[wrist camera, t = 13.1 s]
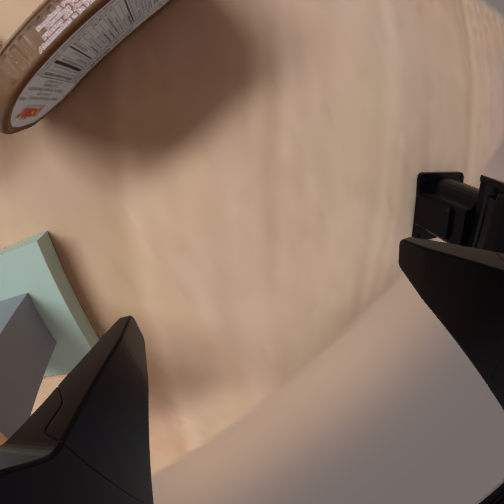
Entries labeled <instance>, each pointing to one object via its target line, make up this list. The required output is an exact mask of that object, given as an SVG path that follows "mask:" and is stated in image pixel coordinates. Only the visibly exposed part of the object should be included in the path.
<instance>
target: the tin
mask: <svg viewBox="0 0 504 504" xmlns="http://www.w3.org/2000/svg"><path fill="white" fill-rule="evenodd" d="M172 1H173V0H45V1H44V2H42V3H41V4H40V5H39V6H38V8H37V9H36V10H35V11H34V12H33V13H32V14H31V15H30V16H29V17H28V18H27V19H26V20H25V21H24V22H23V23H22V24H21V25H20V27H19V28H18V29H17V30H16V31H15V32H14V33H13V35H12V36H11V37H10V38H9V39H8V40H7V42H6V43H5V44H4V45H3V46H2V48H1V49H0V131H1V132H2V133H4V134H13V133H16V132H19V131H21V130H24V129H27V128H29V127H31V126H33V125H35V124H36V123H37V122H39V121H40V120H41V119H43V118H44V117H45V116H46V115H47V114H48V113H50V112H51V111H52V110H53V109H54V108H55V107H56V106H57V105H58V104H59V103H61V102H62V101H63V100H64V99H65V98H66V97H67V96H68V95H69V94H70V92H71V91H72V90H73V89H74V88H75V87H76V86H77V85H78V84H79V83H80V82H81V81H82V80H83V79H84V78H85V77H86V76H87V75H88V74H89V73H90V72H91V71H92V70H93V69H94V68H95V67H96V66H97V65H98V64H99V63H100V62H101V61H102V60H103V59H104V58H105V57H106V56H108V55H109V54H110V53H111V52H112V51H113V50H114V49H115V48H116V47H117V46H119V45H120V44H121V43H122V42H123V41H124V40H125V39H127V38H128V37H129V36H130V35H131V34H133V33H134V32H135V31H136V30H137V29H139V28H140V27H141V26H142V25H144V24H145V23H146V22H147V21H149V20H150V19H151V18H153V17H154V16H155V15H156V14H157V13H159V12H160V11H161V10H162V9H164V8H165V7H166V6H167V5H168V4H169V3H171V2H172Z"/></svg>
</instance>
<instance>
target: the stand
mask: <svg viewBox="0 0 504 504" xmlns="http://www.w3.org/2000/svg"><path fill="white" fill-rule="evenodd" d="M25 293H28V294H29V296H30V298H31V300H32V301H33V303H34V305H35V307H36V309H37V311H38V312H39V314H40V316H41V318H42V319H43V321H44V323H45V324H46V326H47V328H48V329H49V331H50V333H51V334H52V336H53V337H54V339H55V341H56V342H57V344H56V346H55V348H54V351H53V353H52V356H51V358H50V361H49V363H48V366H47V368H46V371H45V374H44V376H51V375H58V374H66V373H70V372H71V371H72V369H73V368H74V367H75V366H76V365H77V364H78V363H79V362H80V361H81V359H82V358H83V357H84V356H85V355H86V354H87V353H88V352H89V351H90V350H91V348H92V347H93V346H94V345H95V344H96V343H97V342H98V341H99V338H98V336H97V334H96V333H95V331H94V329H93V327H92V326H91V324H90V322H89V320H88V318H87V316H86V315H85V313H84V311H83V309H82V307H81V305H80V303H79V301H78V299H77V297H76V295H75V293H74V291H73V289H72V287H71V285H70V283H69V281H68V279H67V276H66V274H65V272H64V270H63V268H62V265H61V263H60V261H59V259H58V256H57V254H56V252H55V249H54V247H53V244H52V242H51V239H50V237H49V234H48V232H47V231H46V232H43V233H41V234H38V235H35V236H33V237H30V238H28V239H25V240H23V241H20V242H18V243H15V244H13V245H11V246H8V247H6V248H3V249H1V250H0V301H2V300H5V299H9V298H12V297H15V296H18V295H22V294H25Z"/></svg>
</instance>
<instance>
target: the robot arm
mask: <svg viewBox="0 0 504 504" xmlns="http://www.w3.org/2000/svg"><path fill="white" fill-rule="evenodd" d="M422 177H423V180H422ZM463 178H464V176H463V173H461V172H421V173H419V175H418V178H417V192H416V205H415V215H414V224H413V233H412V237H409V238H405V239H403V240H401V241H400V244H399V265H400V268H401V269H402V271H403V272H404V274H405V275H406V276H407V278H408V279H409V281H410V282H411V283H412V285H413V286H414V288H415V289H416V291H417V292H418V294H419V295H420V296H421V298H422V299H423V300H424V302H425V303H426V304H427V305H428V307H429V308H430V309H431V310H432V311H433V313H434V314H435V315H436V316H437V318H438V319H439V320H440V321H441V322H442V324H443V325H444V326H445V328H446V329H447V330H448V331H449V333H450V334H451V335H452V337H453V338H454V339H455V340H456V342H457V343H458V345H460V347H461V348H462V350H463V351H464V352H465V354H466V355H467V356H468V358H469V359H470V361H471V362H472V364H473V365H474V366H475V368H476V369H477V370H478V372H479V373H480V375H481V376H482V378H483V379H484V381H485V382H486V384H488V387H489V388H490V390H491V391H492V393H493V394H494V396H495V397H496V399H497V400H498V402H499V403H500V405H501V407H502V408H503V410H504V182H502V181H499V180H496V179H493V178H490V177H486V176H483V175H481V177H480V181H481V184H480V188H479V189H478V188H475V187H473V186H470V185H467V184H465V183H463ZM417 235H418V236H417ZM436 237H438V238H440V239H442V240H443V241H445V242H447V243H443V242H438V241H432V240H427V239H432V238H436ZM58 387H59V388H58ZM58 387H57V388H56V389H55V390H54V391H53V392H52V393H51V395H50V396H49V397H48V398H47V399H46V400H45V401H44V402H43V403H42V405H41V406H40V407H39V408H38V409H37V410H36V411H35V412H34V413H33V414H32V415H31V416H30V417H29V418H28V419H27V420H26V421H25V422H24V423H23V424H22V425H21V426H20V427H19V428H18V429H17V431H16V432H15V433H14V434H13V435H12V436H11V437H10V438H9V439H8V440H7V441H6V442H5V443H3V444H2V445H1V446H0V504H153V495H152V482H151V467H150V449H149V409H148V392H149V389H148V374H147V364H146V353H145V342H144V338H143V335H142V333H141V331H140V329H139V327H138V325H137V323H136V321H135V319H134V318H133V317H132V316H126V317H122V318H120V319H118V321H117V322H116V323H115V324H114V325H113V326H112V327H111V328H110V329H109V330H108V331H107V332H106V333H105V334H104V335H103V336H102V338H101V339H100V340H99V341H98V342H97V343H96V344H95V345H94V346H93V347H92V348H91V350H90V351H89V352H88V353H87V354H86V355H85V356H84V357H83V358H82V359H81V361H80V362H79V363H78V364H77V365H76V366H75V367H74V368H73V369H72V371H71V372H70V373H69V374H68V375H67V376H66V377H65V378H64V380H63V381H62V382H61V383H60V384H59V385H58ZM475 504H504V480H502V481H501V482H500V483H499V484H498V485H497V486H496V487H495V488H493V489H492V490H491V491H490V492H489V493H488V494H486V495H485V496H484V497H483V498H482V499H480V500H479V501H478V502H477V503H475Z"/></svg>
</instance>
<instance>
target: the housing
mask: <svg viewBox="0 0 504 504" xmlns="http://www.w3.org/2000/svg"><path fill="white" fill-rule="evenodd" d="M56 344H57V342H56V341H55V339H54V337H53V336H52V334H51V333H50V331H49V329H48V328H47V326H46V324H45V323H44V321H43V319H42V318H41V316H40V314H39V312H38V311H37V309H36V307H35V305H34V303H33V301H32V300H31V298H30V296H29V294H28V293H25V294H22V295H18V296H15V297H12V298H9V299H5V300H2V301H0V446H1V445H2V444H3V443H5V442H6V441H7V440H8V439H9V438H10V437H11V436H12V435H13V434H14V433H15V432H16V431H17V429H18V428H19V427H20V426H21V425H22V424H23V423H24V422H25V421H26V420H27V419H28V418H29V417H30V415H31V411H32V408H33V405H34V402H35V399H36V396H37V393H38V390H39V387H40V385H41V382H42V379H43V376H44V374H45V371H46V368H47V366H48V363H49V361H50V358H51V356H52V353H53V351H54V348H55V346H56Z"/></svg>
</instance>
